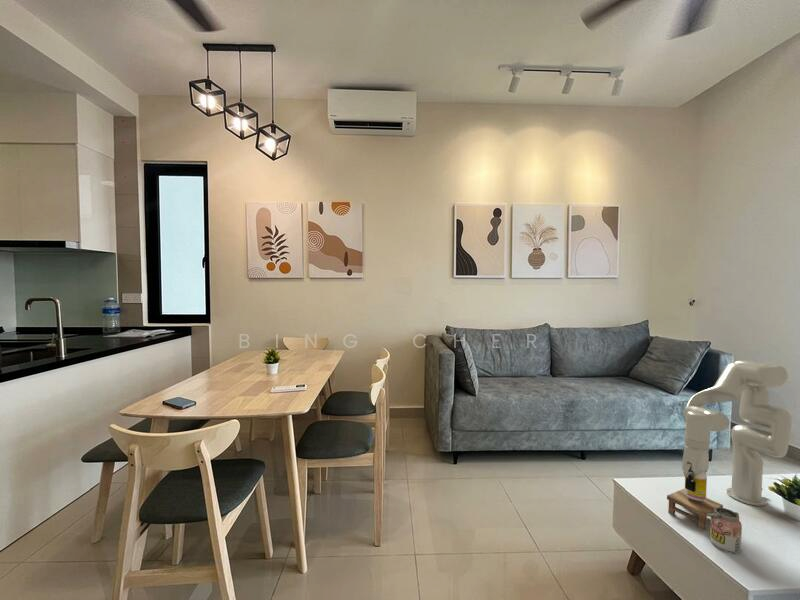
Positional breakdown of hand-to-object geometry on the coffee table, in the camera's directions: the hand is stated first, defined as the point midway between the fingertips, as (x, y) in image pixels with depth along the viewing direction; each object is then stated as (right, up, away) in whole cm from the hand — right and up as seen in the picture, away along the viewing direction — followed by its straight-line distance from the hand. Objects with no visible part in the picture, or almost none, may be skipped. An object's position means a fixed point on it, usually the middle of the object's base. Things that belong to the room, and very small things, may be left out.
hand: (695, 487), depth 144 cm
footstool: (0, -12, 0) cm, 12 cm away
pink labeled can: (-3, -13, -15) cm, 20 cm away
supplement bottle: (0, -4, 0) cm, 4 cm away
